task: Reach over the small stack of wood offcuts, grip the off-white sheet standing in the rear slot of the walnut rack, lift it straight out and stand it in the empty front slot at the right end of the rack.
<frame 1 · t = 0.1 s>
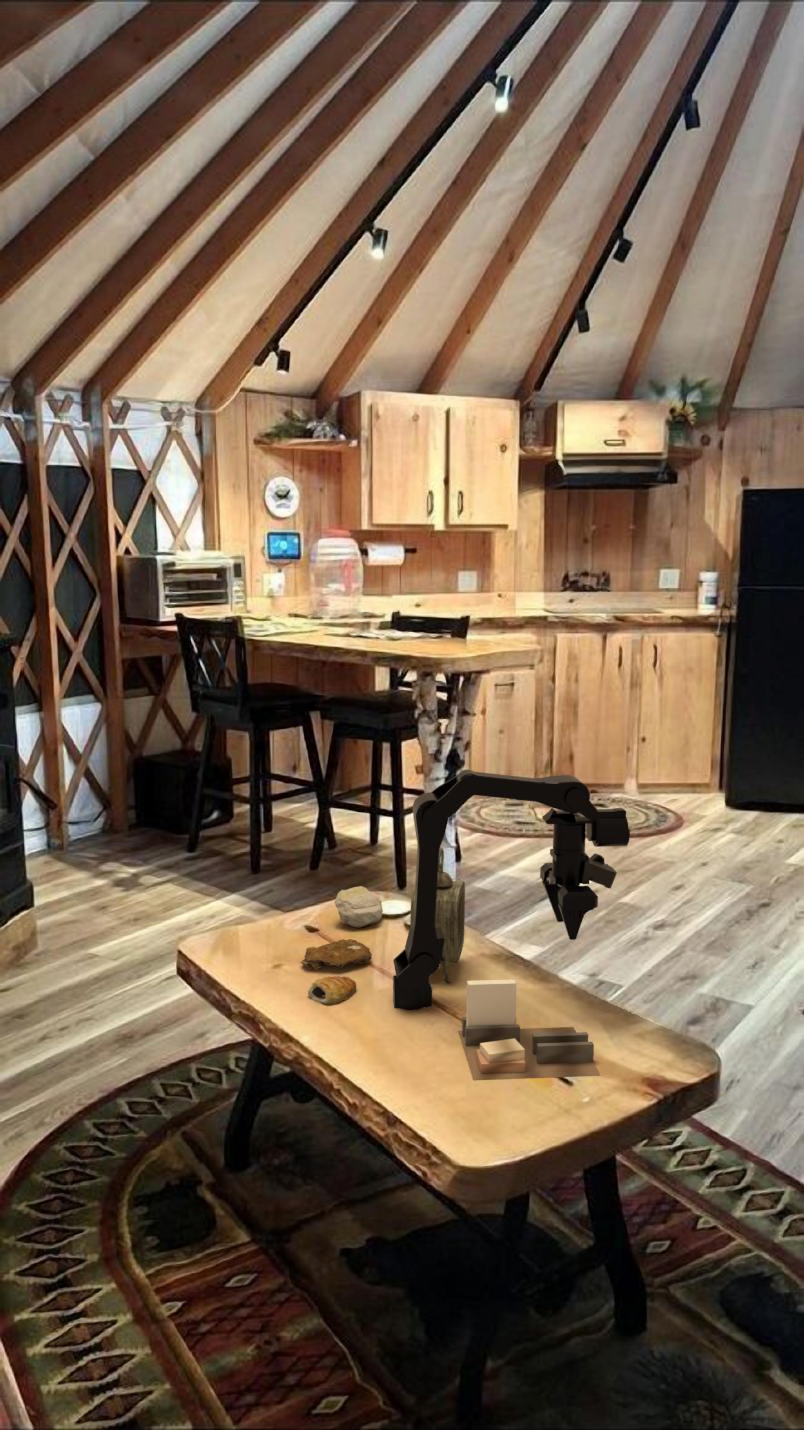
hand: (566, 930, 185), 15 cm above the table, tool pointing down, fingers open, 9 cm apart
off-white sheet: (490, 1039, 171), point 1 cm above the table, touching walnut rack
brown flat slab: (336, 965, 207), on the table
walnut rack: (525, 1060, 166), on the table
birch offcut: (502, 1055, 162), point 3 cm above the table, touching cedar offcut
pastry: (332, 997, 191), on the table
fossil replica: (360, 924, 230), on the table
cedar offcut: (500, 1064, 162), point 1 cm above the table, touching birch offcut, walnut rack
tabletop clock: (437, 972, 203), on the table
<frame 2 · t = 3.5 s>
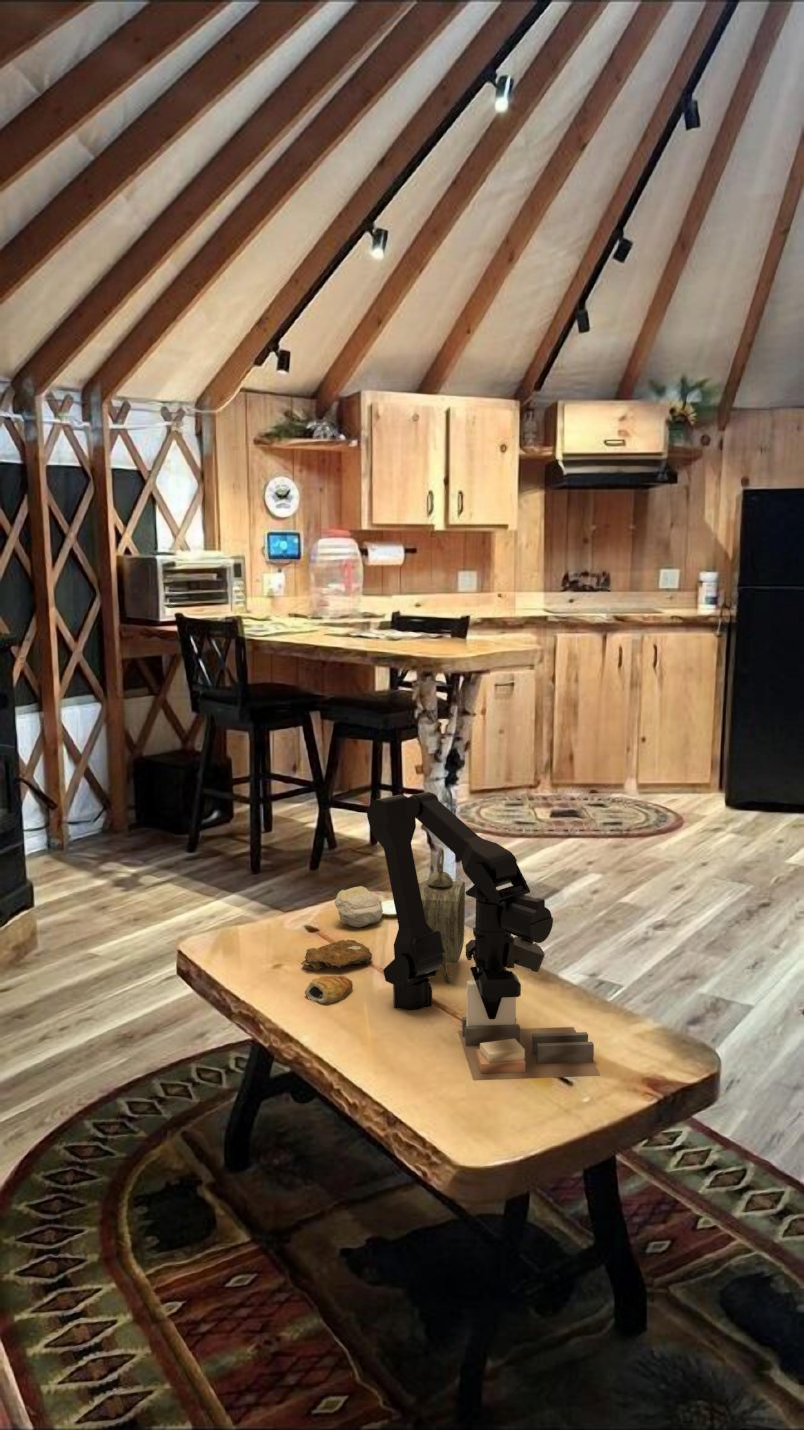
hand: (490, 1016, 170), 6 cm above the table, tool pointing down, fingers closed on off-white sheet, 2 cm apart
off-white sheet: (490, 1039, 171), point 2 cm above the table, touching gripper, walnut rack
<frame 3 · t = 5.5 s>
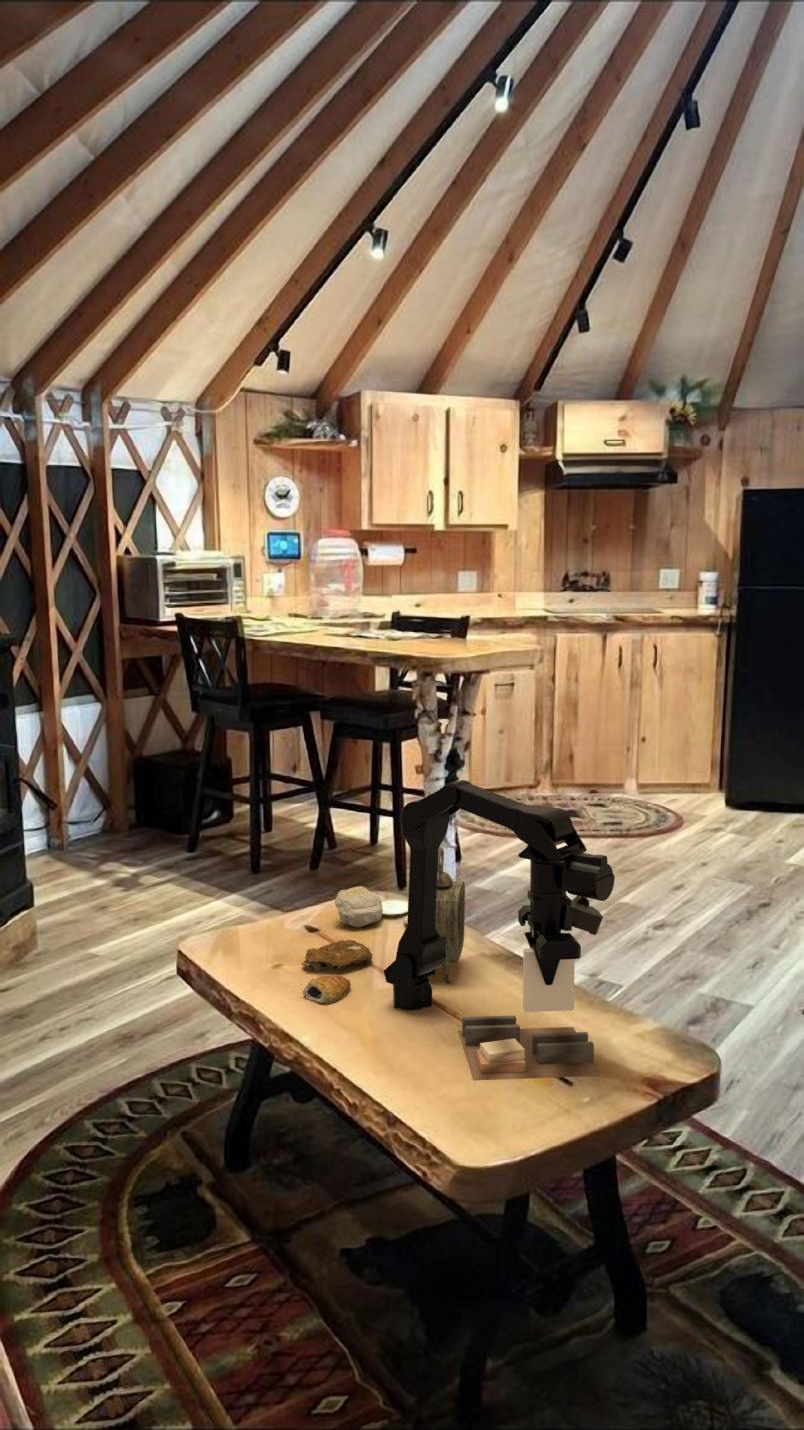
hand: (547, 982, 164), 14 cm above the table, tool pointing down, fingers closed on off-white sheet
off-white sheet: (548, 1009, 165), point 9 cm above the table, touching gripper
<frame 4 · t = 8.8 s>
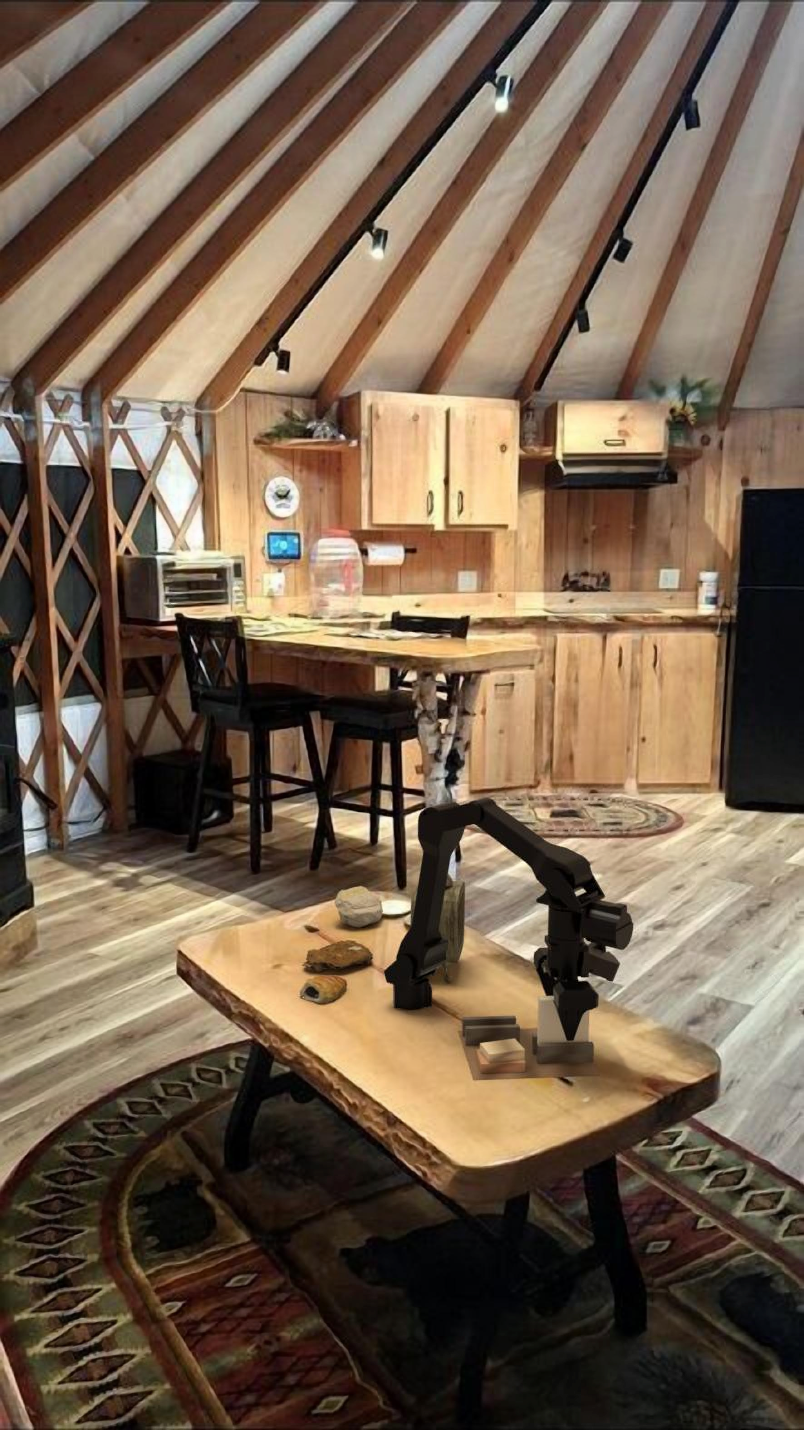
hand: (562, 1027, 164), 6 cm above the table, tool pointing down, fingers open, 9 cm apart
off-white sheet: (562, 1056, 165), point 1 cm above the table, touching walnut rack
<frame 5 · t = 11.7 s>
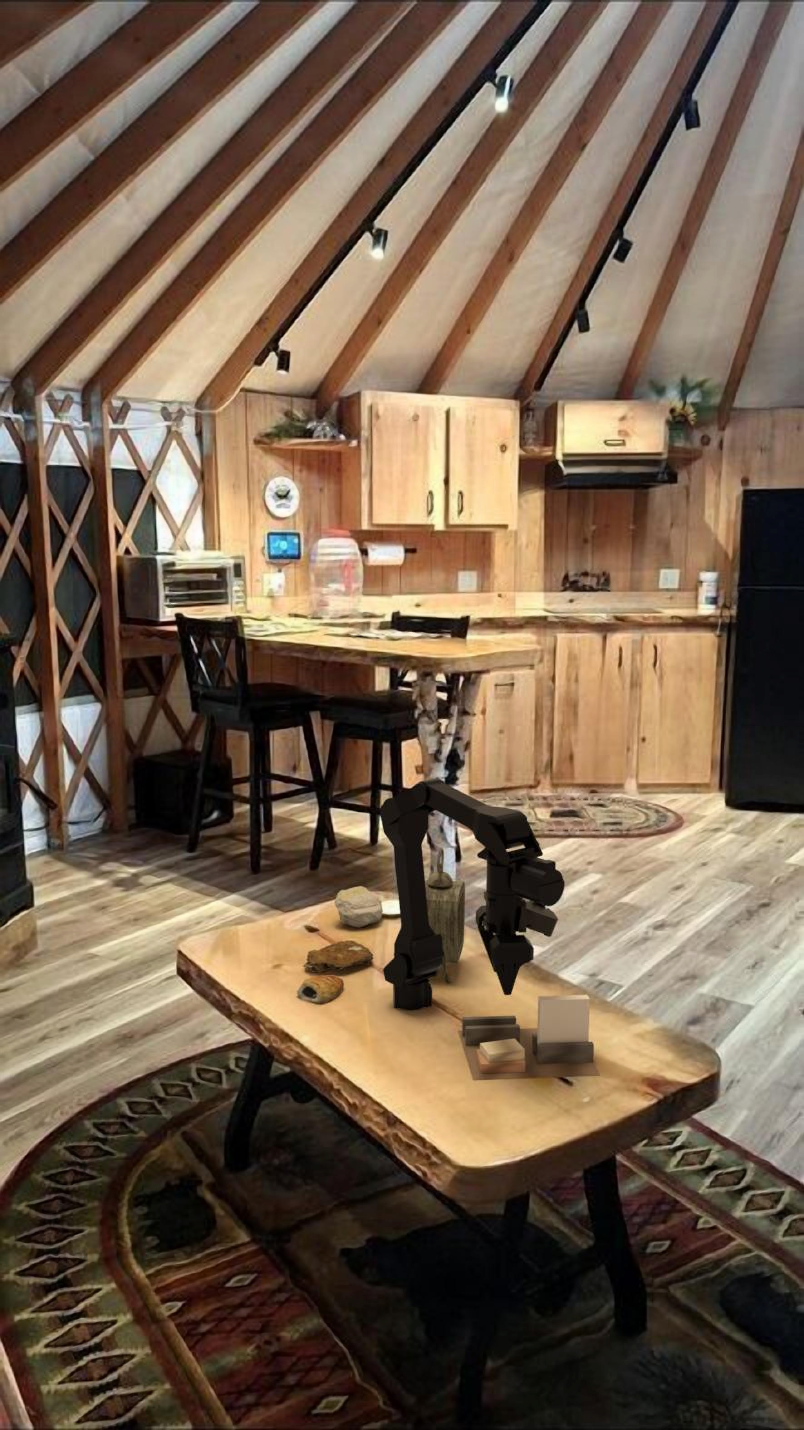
hand: (502, 983, 165), 13 cm above the table, tool pointing down, fingers open, 9 cm apart
at the end: off-white sheet 0.0 cm from the target spot, point 1.5 cm above the table; off-white sheet tilted 0°; the gripper is holding nothing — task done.
